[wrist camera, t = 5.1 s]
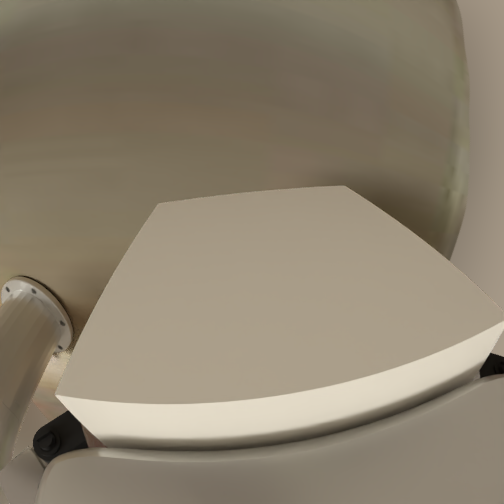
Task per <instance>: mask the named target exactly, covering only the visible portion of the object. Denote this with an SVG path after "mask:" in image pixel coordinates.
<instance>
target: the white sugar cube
mask: <svg viewBox="0 0 504 504" xmlns="http://www.w3.org/2000/svg"><path fill="white" fill-rule="evenodd" d="M503 329H504V311H503V310H502V309H501V308H500V307H499V306H498V305H497V304H496V303H495V302H494V301H493V300H492V299H491V298H490V297H489V296H488V295H487V294H486V293H485V292H483V290H481V289H480V288H479V287H478V286H477V285H476V284H475V283H474V282H473V281H472V280H471V279H469V278H468V277H467V276H466V275H465V274H464V273H463V272H461V271H460V270H459V269H458V268H457V267H456V266H454V265H453V264H452V263H451V262H450V261H449V260H447V259H446V258H445V257H444V256H443V255H441V254H440V253H439V252H438V251H436V250H435V249H434V248H433V247H431V246H430V245H429V244H428V243H426V242H425V241H424V240H422V239H421V238H420V237H419V236H417V235H416V234H415V233H413V232H412V231H411V230H409V229H408V228H407V227H405V226H404V225H402V224H401V223H400V222H398V221H397V220H395V219H394V218H393V217H391V216H390V215H388V214H387V213H386V212H384V211H383V210H381V209H380V208H378V207H377V206H375V205H374V204H372V203H371V202H369V201H368V200H366V199H365V198H363V197H362V196H360V195H359V194H357V193H356V192H354V191H352V190H351V189H349V188H348V187H346V186H345V185H344V186H324V187H307V188H293V189H280V190H268V191H257V192H247V193H237V194H228V195H219V196H211V197H203V198H195V199H187V200H180V201H173V202H166V203H159V204H158V205H157V206H156V208H155V209H154V210H153V212H152V213H151V215H150V216H149V218H148V219H147V221H146V222H145V224H144V225H143V227H142V228H141V230H140V231H139V233H138V234H137V236H136V237H135V239H134V241H133V242H132V244H131V245H130V247H129V249H128V250H127V252H126V253H125V255H124V257H123V258H122V260H121V262H120V263H119V265H118V267H117V268H116V270H115V272H114V273H113V275H112V277H111V279H110V280H109V282H108V284H107V286H106V287H105V289H104V291H103V293H102V294H101V296H100V298H99V300H98V302H97V304H96V306H95V307H94V309H93V311H92V313H91V315H90V317H89V319H88V321H87V323H86V325H85V327H84V329H83V331H82V333H81V335H80V337H79V339H78V341H77V343H76V346H75V348H74V350H73V352H72V354H71V357H70V359H69V361H68V363H67V366H66V368H65V370H64V373H63V375H62V377H61V380H60V382H59V385H58V387H57V390H56V392H55V396H56V397H57V398H58V399H59V400H60V401H61V402H62V403H63V405H64V406H65V407H66V408H67V409H68V410H69V411H70V412H71V413H72V414H73V415H74V416H75V417H76V418H77V419H78V420H79V421H80V422H81V423H82V424H83V425H84V426H85V427H86V428H87V429H88V430H89V431H90V432H91V433H92V434H93V435H94V436H95V437H96V438H97V439H98V440H100V441H101V442H102V443H103V444H104V445H105V446H106V447H108V448H126V449H142V450H158V451H220V450H236V449H248V448H257V447H266V446H273V445H280V444H286V443H292V442H298V441H303V440H309V439H313V438H318V437H323V436H327V435H331V434H335V433H339V432H343V431H347V430H350V429H354V428H357V427H361V426H364V425H367V424H370V423H374V422H377V421H380V420H383V419H386V418H388V417H391V416H394V415H397V414H399V413H402V412H405V411H407V410H410V409H412V408H415V407H417V406H419V405H422V404H424V403H426V402H429V401H431V400H433V399H436V398H438V397H440V396H442V395H444V394H447V393H449V392H451V391H453V390H455V389H457V388H459V387H461V386H463V385H466V384H468V383H470V382H471V381H472V380H473V379H474V377H475V376H476V374H477V373H478V371H479V370H480V368H481V367H482V365H483V364H484V362H485V361H486V359H487V357H488V356H489V354H490V352H491V351H492V349H493V347H494V346H495V344H496V342H497V340H498V339H499V337H500V335H501V333H502V331H503Z"/></svg>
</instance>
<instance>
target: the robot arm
mask: <svg viewBox="0 0 504 504" xmlns="http://www.w3.org/2000/svg"><path fill="white" fill-rule="evenodd" d="M1 299H2V306H1V307H0V504H9V503H10V504H504V357H502V356H499V355H496V354H492V353H490V354H489V356H488V357H487V359H486V361H485V362H484V364H483V365H482V367H481V368H480V370H479V371H478V373H477V374H476V376H475V377H474V379H473V380H472V381H471V382H470V383H468V384H466V385H463V386H461V387H459V388H457V389H455V390H453V391H451V392H449V393H447V394H444V395H442V396H440V397H438V398H436V399H433V400H431V401H429V402H426V403H424V404H422V405H419V406H417V407H415V408H412V409H410V410H407V411H405V412H402V413H399V414H397V415H394V416H391V417H388V418H386V419H383V420H380V421H377V422H374V423H370V424H367V425H364V426H361V427H357V428H354V429H350V430H347V431H343V432H339V433H335V434H331V435H327V436H323V437H318V438H313V439H309V440H303V441H298V442H292V443H286V444H280V445H273V446H266V447H257V448H248V449H236V450H220V451H158V450H142V449H126V448H108V447H106V446H105V445H104V444H103V443H102V442H101V441H100V440H98V439H97V438H96V437H95V436H94V435H93V434H92V433H91V432H90V431H89V430H88V429H87V428H86V427H85V426H84V425H83V424H82V423H81V422H80V421H79V420H78V419H77V418H76V417H75V416H74V415H73V414H72V413H71V412H70V411H69V410H68V411H66V412H65V413H63V414H62V415H60V416H59V417H57V418H56V419H54V420H52V421H51V422H49V423H48V424H46V425H45V426H43V427H41V428H40V429H39V430H38V431H37V432H36V434H35V436H34V439H33V447H32V448H31V447H30V446H28V447H26V448H25V449H24V450H23V451H22V452H21V453H20V454H18V455H17V456H16V457H15V458H14V459H13V460H12V456H13V451H14V448H15V444H16V441H17V438H18V435H19V432H20V429H21V426H22V424H23V421H24V418H25V415H26V413H27V410H28V408H29V405H30V403H31V400H32V398H33V396H34V393H35V391H36V389H37V386H38V384H39V382H40V380H41V377H42V375H43V373H44V371H45V369H46V367H47V365H48V363H49V361H50V359H51V357H52V355H53V353H54V352H62V351H64V350H66V349H67V348H68V347H69V345H70V343H71V341H72V339H73V328H72V325H71V321H70V319H69V317H68V315H67V313H66V311H65V310H64V308H63V307H62V305H61V304H60V303H59V301H58V300H57V299H56V298H55V297H54V296H53V295H52V294H51V293H50V292H49V291H48V290H47V289H46V288H44V287H43V286H42V285H40V284H39V283H37V282H35V281H33V280H31V279H29V278H26V277H19V276H16V277H13V278H11V279H9V280H8V281H7V282H6V283H5V285H4V286H3V289H2V293H1Z"/></svg>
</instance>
